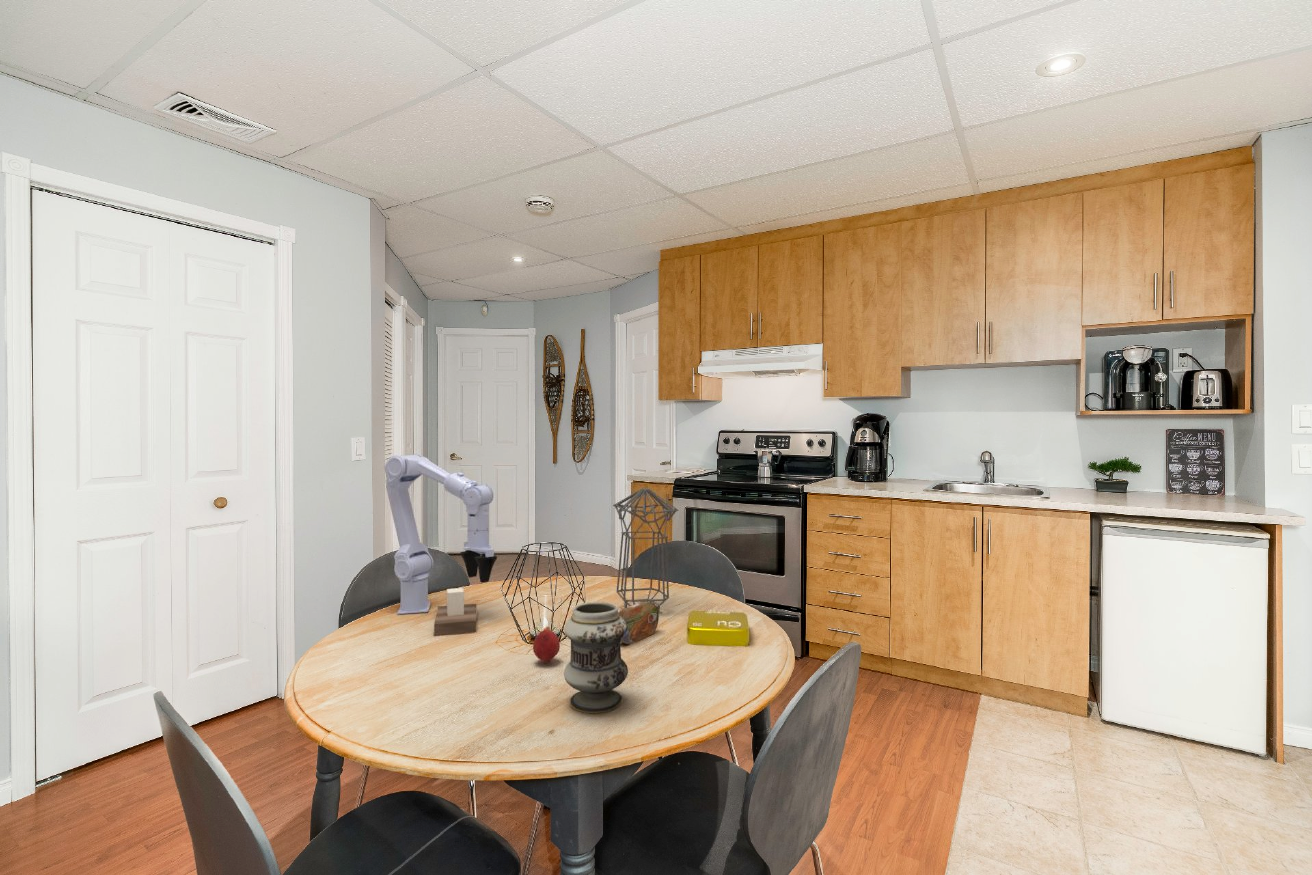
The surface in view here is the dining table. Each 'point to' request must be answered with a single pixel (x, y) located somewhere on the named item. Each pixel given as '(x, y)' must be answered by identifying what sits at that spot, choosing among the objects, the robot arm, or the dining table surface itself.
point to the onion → (546, 645)
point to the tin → (639, 621)
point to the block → (455, 601)
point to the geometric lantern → (669, 511)
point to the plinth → (455, 621)
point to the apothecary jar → (595, 656)
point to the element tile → (717, 628)
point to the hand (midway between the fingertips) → (478, 579)
